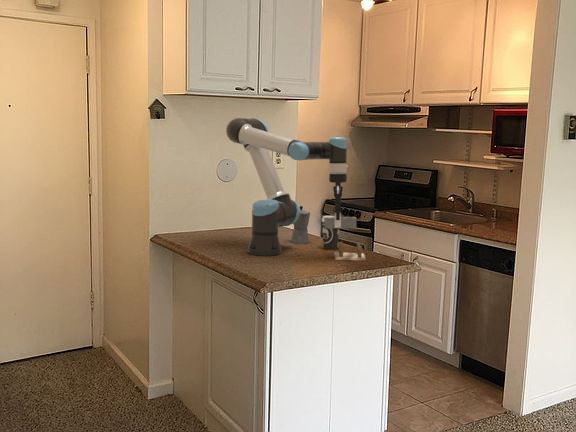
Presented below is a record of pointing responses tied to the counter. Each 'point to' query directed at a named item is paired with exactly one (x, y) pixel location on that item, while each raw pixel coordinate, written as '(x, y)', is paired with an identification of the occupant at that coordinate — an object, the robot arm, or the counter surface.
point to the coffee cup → (330, 236)
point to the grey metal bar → (345, 222)
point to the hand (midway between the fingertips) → (337, 226)
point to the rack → (350, 256)
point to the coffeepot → (301, 228)
